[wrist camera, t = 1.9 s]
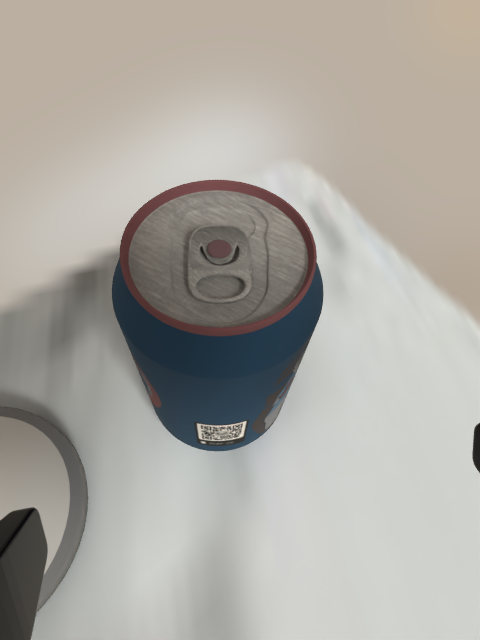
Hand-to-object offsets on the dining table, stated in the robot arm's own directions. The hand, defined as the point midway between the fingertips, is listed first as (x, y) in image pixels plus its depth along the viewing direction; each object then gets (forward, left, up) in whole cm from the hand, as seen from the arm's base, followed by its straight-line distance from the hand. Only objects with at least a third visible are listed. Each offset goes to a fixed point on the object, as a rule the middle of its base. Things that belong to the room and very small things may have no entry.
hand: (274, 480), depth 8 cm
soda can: (+4, +5, -12) cm, 14 cm away
